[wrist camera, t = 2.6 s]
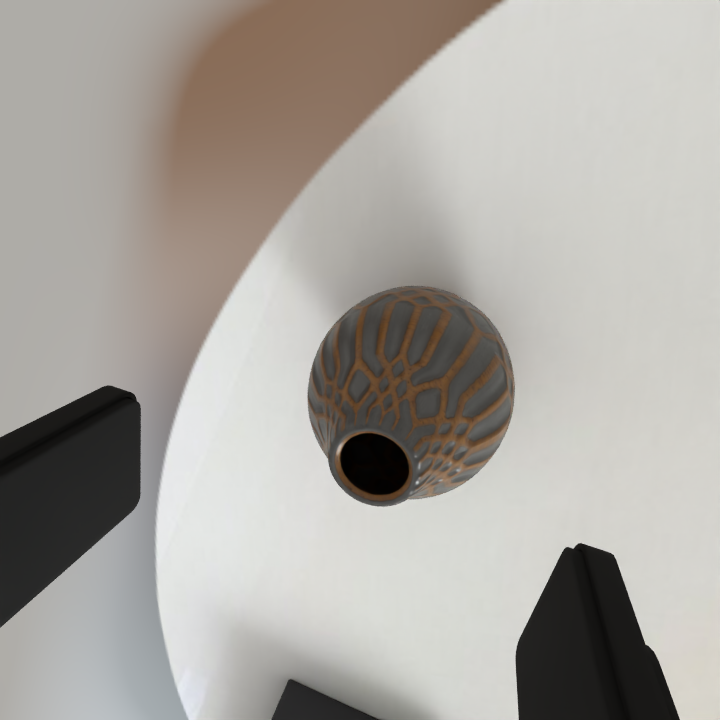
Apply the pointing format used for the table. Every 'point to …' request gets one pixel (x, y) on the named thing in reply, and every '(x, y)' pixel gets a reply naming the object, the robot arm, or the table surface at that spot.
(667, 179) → the table surface
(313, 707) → the scale
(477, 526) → the table surface
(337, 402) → the vase
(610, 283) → the table surface
